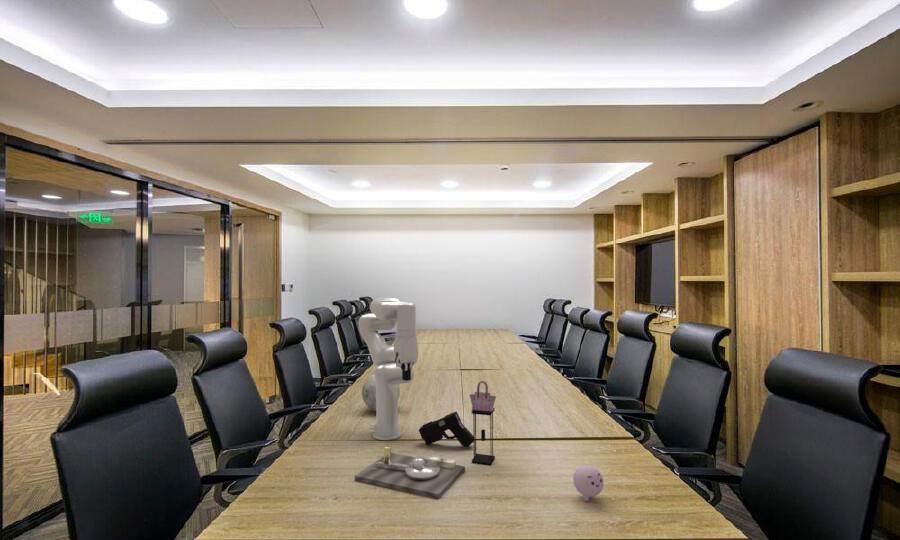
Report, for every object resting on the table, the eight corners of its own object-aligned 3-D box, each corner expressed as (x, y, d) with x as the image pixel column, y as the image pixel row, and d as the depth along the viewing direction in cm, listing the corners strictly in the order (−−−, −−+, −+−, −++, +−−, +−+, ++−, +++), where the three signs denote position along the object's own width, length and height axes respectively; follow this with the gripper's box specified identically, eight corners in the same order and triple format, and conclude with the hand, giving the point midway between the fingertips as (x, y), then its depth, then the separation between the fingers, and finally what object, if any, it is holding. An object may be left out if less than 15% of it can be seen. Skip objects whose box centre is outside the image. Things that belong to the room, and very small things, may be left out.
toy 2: (587, 508, 129) (586, 474, 129) (567, 495, 137) (567, 463, 137) (609, 502, 132) (609, 469, 133) (589, 489, 141) (589, 458, 141)
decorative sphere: (381, 403, 241) (380, 367, 242) (407, 409, 230) (407, 371, 230) (354, 412, 225) (353, 373, 226) (381, 419, 214) (380, 378, 214)
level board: (354, 480, 148) (354, 468, 148) (389, 456, 168) (389, 446, 168) (438, 498, 135) (438, 486, 135) (465, 470, 155) (464, 459, 155)
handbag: (498, 458, 166) (498, 379, 166) (494, 466, 159) (493, 384, 159) (472, 454, 169) (472, 378, 170) (467, 462, 162) (466, 382, 163)
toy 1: (475, 445, 174) (459, 410, 176) (432, 463, 177) (417, 429, 179) (477, 440, 179) (462, 407, 181) (435, 458, 182) (420, 424, 184)
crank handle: (444, 467, 154) (444, 446, 154) (432, 482, 142) (432, 460, 143) (385, 459, 161) (385, 440, 161) (370, 473, 149) (370, 452, 150)
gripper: (412, 331, 180) (412, 375, 180) (385, 335, 169) (386, 382, 168) (425, 332, 175) (426, 377, 175) (399, 336, 164) (399, 384, 163)
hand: (406, 379), depth 171 cm, fingers closed
